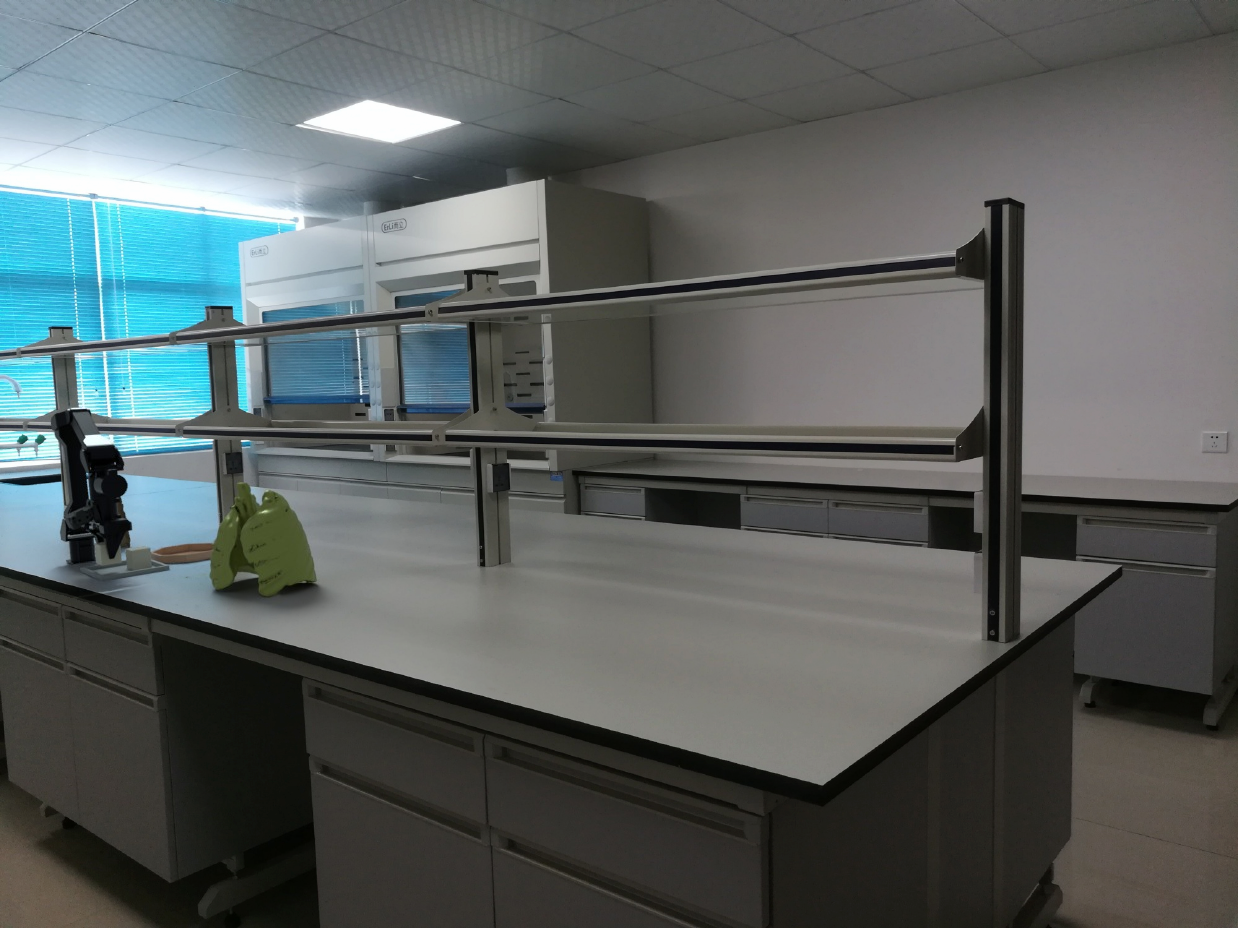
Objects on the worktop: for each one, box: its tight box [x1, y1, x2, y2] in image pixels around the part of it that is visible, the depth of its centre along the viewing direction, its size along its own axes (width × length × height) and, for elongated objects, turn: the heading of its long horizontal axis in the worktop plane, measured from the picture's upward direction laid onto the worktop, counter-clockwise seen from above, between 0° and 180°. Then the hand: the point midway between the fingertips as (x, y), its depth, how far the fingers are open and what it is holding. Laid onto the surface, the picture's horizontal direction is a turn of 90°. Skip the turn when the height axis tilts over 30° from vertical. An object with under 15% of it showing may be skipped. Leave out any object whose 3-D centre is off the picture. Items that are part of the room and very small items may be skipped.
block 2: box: [124, 545, 152, 571], centre depth 224 cm, size 4×4×5 cm
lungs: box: [209, 481, 318, 598], centre depth 202 cm, size 25×16×24 cm, turn 62°
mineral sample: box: [94, 496, 131, 549], centre depth 260 cm, size 17×4×15 cm, turn 55°
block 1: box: [94, 542, 123, 566], centre depth 219 cm, size 4×4×5 cm
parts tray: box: [79, 559, 171, 582], centre depth 222 cm, size 17×15×2 cm
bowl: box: [151, 542, 214, 564], centre depth 238 cm, size 16×16×2 cm
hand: (108, 557), depth 219 cm, fingers closed on block 1, 4 cm apart
